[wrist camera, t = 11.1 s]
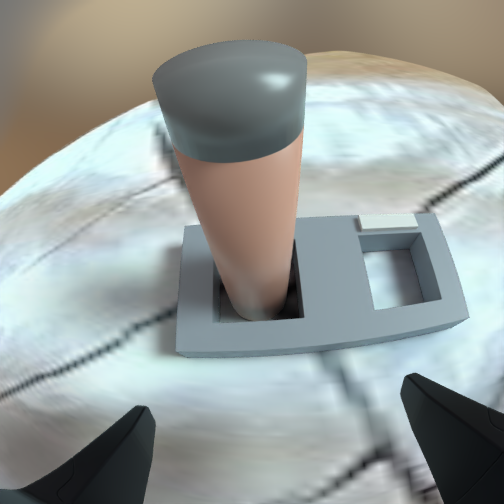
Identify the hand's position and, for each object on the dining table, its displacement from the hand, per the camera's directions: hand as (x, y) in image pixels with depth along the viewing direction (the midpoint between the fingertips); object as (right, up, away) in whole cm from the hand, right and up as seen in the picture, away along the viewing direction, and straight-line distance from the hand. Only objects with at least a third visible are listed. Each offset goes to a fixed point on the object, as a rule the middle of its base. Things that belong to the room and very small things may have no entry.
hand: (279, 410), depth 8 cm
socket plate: (+5, +2, +12) cm, 13 cm away
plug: (0, +2, +12) cm, 12 cm away
